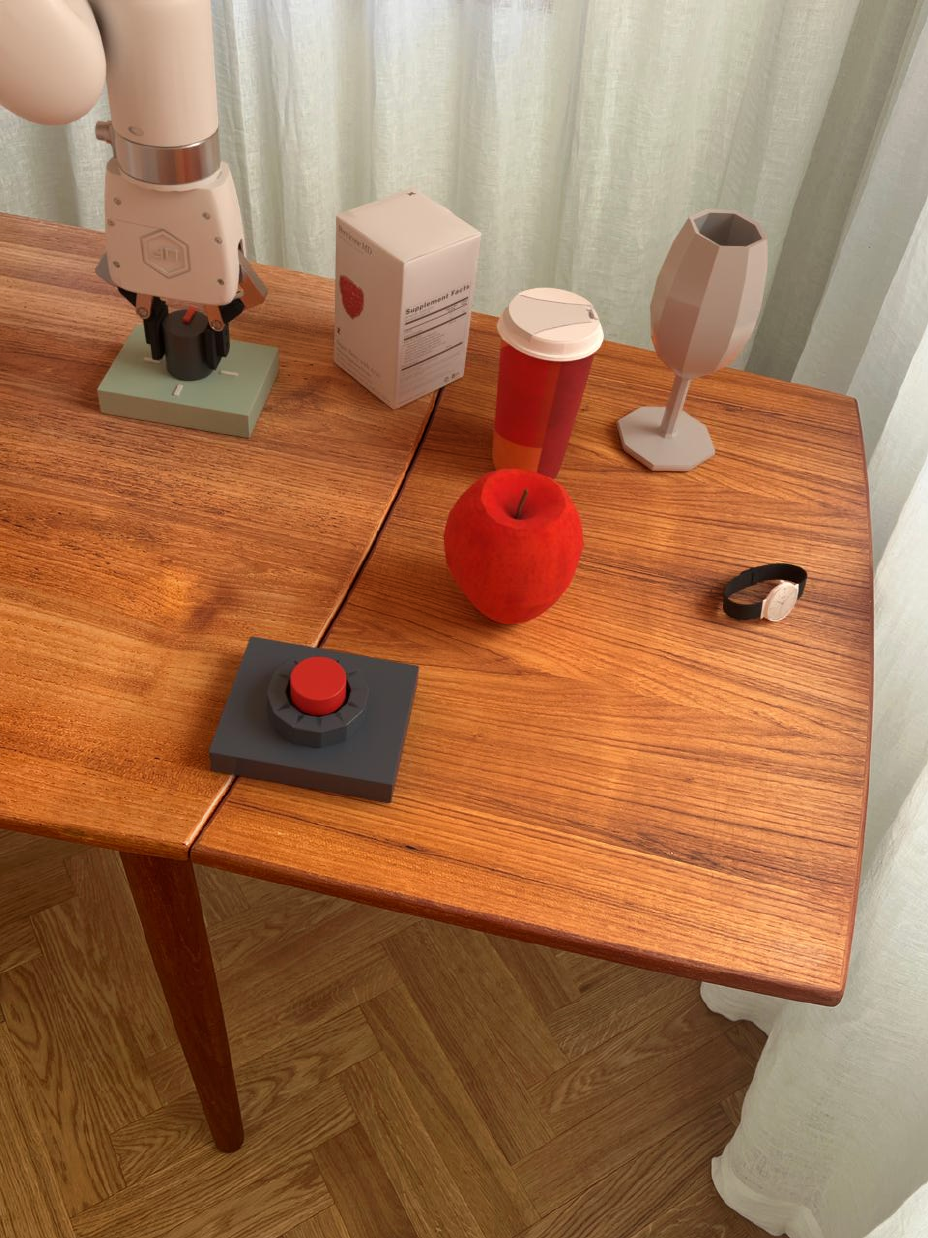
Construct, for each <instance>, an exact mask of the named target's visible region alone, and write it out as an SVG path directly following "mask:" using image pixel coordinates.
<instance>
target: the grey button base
mask: <svg viewBox="0 0 928 1238" xmlns="http://www.w3.org/2000/svg"><path fill="white" fill-rule="evenodd" d="M311 657H326V658H329V659H332V660H334V661H336V662H337V663H338V664H340V665H341V666H342V668H343V669H344V671H345V674H346V697H345V700H344V702H343V704H342V705H341V706H340V707H339V708H338V709H337V710H336V711H334V712H332V713H330V714H327V715H321V716H315V715H309V714H306V713H304V712H302V711H300V710H299V709H298V708H297V707H296V706H295V705H294V703H293V702H292V699H291V689H290V676H291V673H292V671H293V669H294V667H295V666H296V665H297V664H298V663H300V662H301V661H303V660H305V659H307V658H311ZM419 671H420V665H417V664H410V663H406V662H400V661H395V660H387V659H383V658H378V657H377V658H376V657H371V656H366V655H360V654H354V653H349V652H343V651H339V650H331V649H325V648H320V647H314V646H309V645H304V644H297V643H291V642H286V641H280V640H274V639H269V638H263V637H258V636H250V637H249V638H248V641H247V644H246V647H245V650H244V653H243V656H242V658H241V662H240V663H239V667H238V669H237V672H236V675H235V678H234V680H233V683H232V686H231V689H230V690H229V691H230V692H229V693H228V697H227V700H226V702H225V705H224V708H223V710H222V713H221V716H220V719H219V721H218V724H217V727H216V730H215V733H214V735H213V738H212V741H211V744H210V746H209V749H208V759H209V767H210V771H211V772H215V773H219V774H225V775H232V776H238V777H243V778H249V779H254V780H260V781H265V782H271V783H277V784H283V785H286V786H294V787H299V788H305V789H310V790H314V791H315V790H316V791H322V792H327V793H333V794H338V795H344V796H349V797H354V798H355V797H356V798H361V799H365V800H372V801H377V802H383V803H389V804H391V803H392V801H393V796H394V792H395V787H396V783H397V778H398V774H399V769H400V765H401V761H402V756H403V751H404V747H405V742H406V737H407V734H408V729H409V724H410V719H411V715H412V711H413V705H414V701H415V697H416V693H417V688H418V680H419Z"/></svg>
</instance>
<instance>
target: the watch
mask: <svg viewBox="0 0 928 1238" xmlns="http://www.w3.org/2000/svg"><path fill="white" fill-rule="evenodd" d="M808 575H809V574H808V572H807V570H805V568H803V567H801V566H800V565H795V564H792V563H785V562H774V563H766V564H763V565H757V566H754V567H751V566H750V568H748V569H745V570H743V571H740V573H739V574H738V575H736V576H734V577H732V578H731V579H730V580H729V581H728V582H727V583H726V585H725V586H724V590H723V597H722V610H723V611H722V612H723V613H724V614H725V616H727V617H729V618H730V619H732V620H736V621H745V622H746V621H752V620H757V619H760V620H762V619H763V618H764V619H766V620H768V621H770V622H779V621H781V620H783V619H785V618H786V617H787V616H788V615H789V614H790V612H791V611H792V610H793V609H794V607H795V605H796V602H797V601H798V600H799V599H800V598H802V596H803V595H804V591H805V588H806V585H807V581H808V580H807V579H808ZM766 581H767V582H769V581H779V584H777V585H776V586H775V587H773V589H771V591H770V592H769V593H768V594H767V596H766V597H765V599H763V600H761V601H759V602H755V603H737V602H734V601H733V600H731V599H729V598H730V597H731V596H733V595H734V594H735V593H737V592H740V591H742V590H744V589H747V588H750V587H753V586H756V585H758V584H759V583H764V582H766ZM794 584H795V585H794Z"/></svg>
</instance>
